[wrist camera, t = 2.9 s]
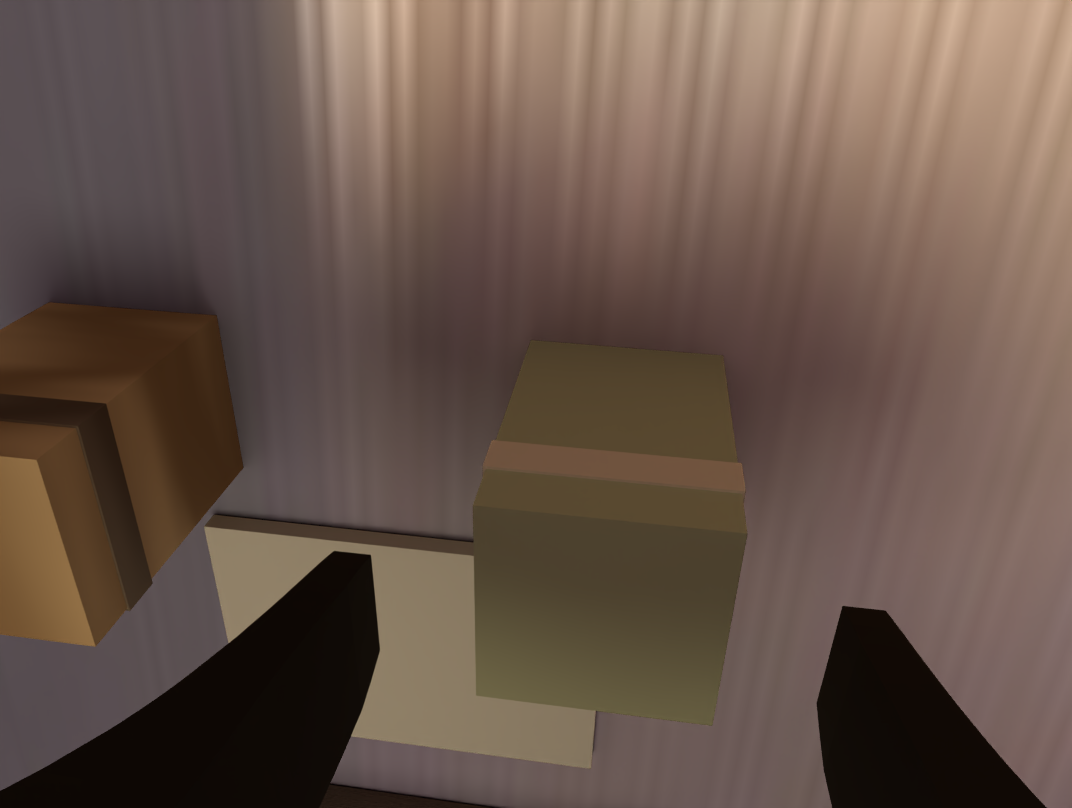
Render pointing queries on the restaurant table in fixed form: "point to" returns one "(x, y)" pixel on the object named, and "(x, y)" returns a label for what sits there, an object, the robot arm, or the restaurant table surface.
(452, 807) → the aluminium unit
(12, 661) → the restaurant table surface
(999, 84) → the restaurant table surface
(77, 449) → the oak block
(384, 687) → the pad
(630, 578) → the sage block
